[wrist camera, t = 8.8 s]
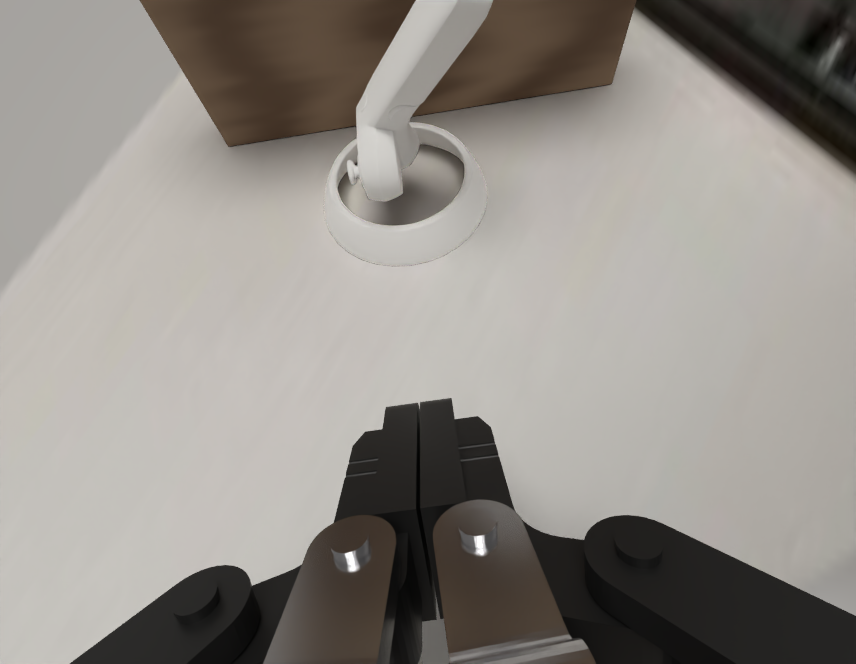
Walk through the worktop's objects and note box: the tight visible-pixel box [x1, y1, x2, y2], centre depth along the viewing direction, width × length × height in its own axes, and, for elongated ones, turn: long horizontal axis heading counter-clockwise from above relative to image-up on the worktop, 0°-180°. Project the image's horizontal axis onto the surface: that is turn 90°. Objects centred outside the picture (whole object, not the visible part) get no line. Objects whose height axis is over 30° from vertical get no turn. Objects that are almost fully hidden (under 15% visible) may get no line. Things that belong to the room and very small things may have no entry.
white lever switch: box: [324, 0, 493, 266], centre depth 18 cm, size 8×12×7 cm
